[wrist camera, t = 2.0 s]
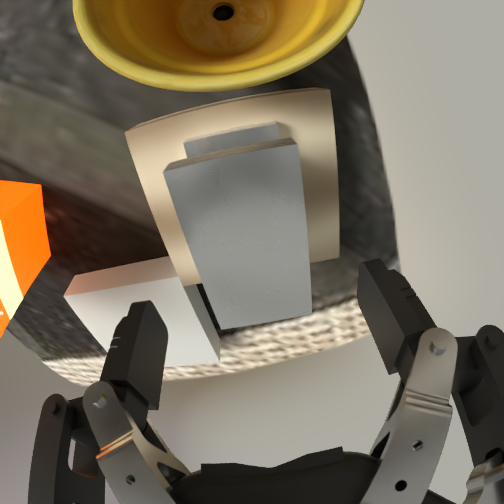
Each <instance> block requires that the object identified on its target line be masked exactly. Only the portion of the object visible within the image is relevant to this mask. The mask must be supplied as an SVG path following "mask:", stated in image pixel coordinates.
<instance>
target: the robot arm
mask: <svg viewBox="0 0 504 504" xmlns="http://www.w3.org/2000/svg"><path fill="white" fill-rule="evenodd" d="M357 299H358V303H359V307H360V309H361V311H362V313H363V316H364V318H365V320H366V322H367V324H368V327H369V329H370V331H371V333H372V336H373V338H374V340H375V343H376V345H377V347H378V350H379V352H380V354H381V357H382V359H383V361H384V364H385V367H386V369H387V371H388V374H389V375H391V374H393V373H397V372H398V373H399V375H400V378H401V379H400V381H399V384H398V387H397V390H396V393H395V396H394V399H393V402H392V404H391V407H390V410H389V412H388V415H387V417H386V420H385V423H384V425H383V427H382V429H381V430H380V432H379V434H378V436H377V438H376V440H375V442H374V444H373V446H372V449H371V451H370V453H369V455H367V454H363V453H358V452H343V449H342V446H341V447H338V448H333V449H329V450H325V451H320V452H315V453H310V454H306V455H304V456H301V457H299V458H297V459H294V460H292V461H289V462H287V463H284V464H281V465H279V466H277V467H273V468H266V467H258V466H250V465H244V464H238V463H220V464H201V470H198V471H196V472H193V473H191V472H190V471H189V470H188V469H187V467H186V466H185V465H184V464H183V463H182V462H181V461H180V460H179V459H177V458H176V457H175V456H174V455H173V453H172V452H171V451H170V449H169V448H168V447H167V445H166V444H165V442H164V441H163V439H162V438H161V436H160V435H159V434H158V432H157V430H156V429H155V427H154V426H153V424H152V423H151V421H150V420H149V418H148V417H147V414H148V410H158V409H159V401H160V393H161V385H162V378H163V371H164V364H165V358H166V351H167V345H168V330H167V327H166V325H165V323H164V321H163V319H162V318H161V316H160V314H159V312H158V311H157V309H156V307H155V305H154V304H153V302H152V301H151V300H146V301H140V302H133V303H132V304H131V305H130V308H129V311H128V314H127V316H125V317H123V318H122V319H121V321H120V322H119V323H118V325H117V326H116V328H115V331H114V334H113V337H112V338H113V340H111V344H110V348H109V350H108V353H107V357H106V360H105V363H104V367H103V370H102V374H101V377H100V381H99V382H96V383H94V384H92V385H91V386H89V387H88V388H87V390H86V391H85V393H84V396H83V397H79V398H76V399H72V400H67V399H66V398H64V397H63V396H62V395H60V394H53V395H51V396H49V397H48V398H47V399H46V401H45V402H44V404H43V407H42V411H41V415H40V419H39V424H38V429H37V434H36V438H35V444H34V450H33V456H32V463H31V470H30V481H29V492H28V504H105V478H106V480H107V482H108V484H109V486H110V488H111V489H112V491H113V493H114V495H115V497H116V498H117V500H118V502H119V503H120V504H456V503H454V502H452V501H450V500H448V499H446V498H444V497H442V496H440V495H438V494H436V493H434V492H433V491H431V490H429V489H428V487H429V485H430V483H431V480H432V478H433V475H434V473H435V470H436V467H437V465H438V462H439V459H440V456H441V453H442V450H443V447H444V444H445V440H446V437H447V433H448V430H449V426H450V422H451V418H452V413H453V408H452V406H451V405H449V398H450V393H451V394H452V397H453V399H454V402H455V405H456V408H457V410H458V413H459V416H460V419H461V422H462V425H463V429H464V432H465V435H466V439H467V442H468V446H469V449H470V453H471V457H472V461H473V465H474V469H473V470H472V472H471V474H470V476H469V479H468V481H467V483H466V487H467V489H468V492H467V496H466V499H465V501H464V502H463V504H504V333H503V332H502V330H500V329H499V328H498V327H496V326H493V325H485V326H483V327H481V329H479V331H478V333H477V334H476V336H469V337H454V336H453V335H452V334H451V333H450V332H449V331H447V330H445V329H442V328H438V327H437V326H436V325H435V323H434V321H433V320H432V318H431V317H430V315H429V314H428V312H427V310H426V309H425V307H424V305H423V304H422V302H421V301H420V299H419V298H418V296H416V293H415V292H414V290H413V289H411V286H410V284H409V283H408V281H407V280H406V278H405V277H404V276H403V275H401V274H400V273H399V272H397V271H396V270H394V269H392V270H388V269H387V268H386V266H385V265H384V263H383V262H382V261H381V260H380V259H375V260H371V261H366V262H361V263H360V266H359V277H358V288H357ZM71 439H73V440H74V441H76V444H75V451H74V460H73V469H72V470H71V469H70V468H69V465H68V456H69V448H70V442H71Z"/></svg>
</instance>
